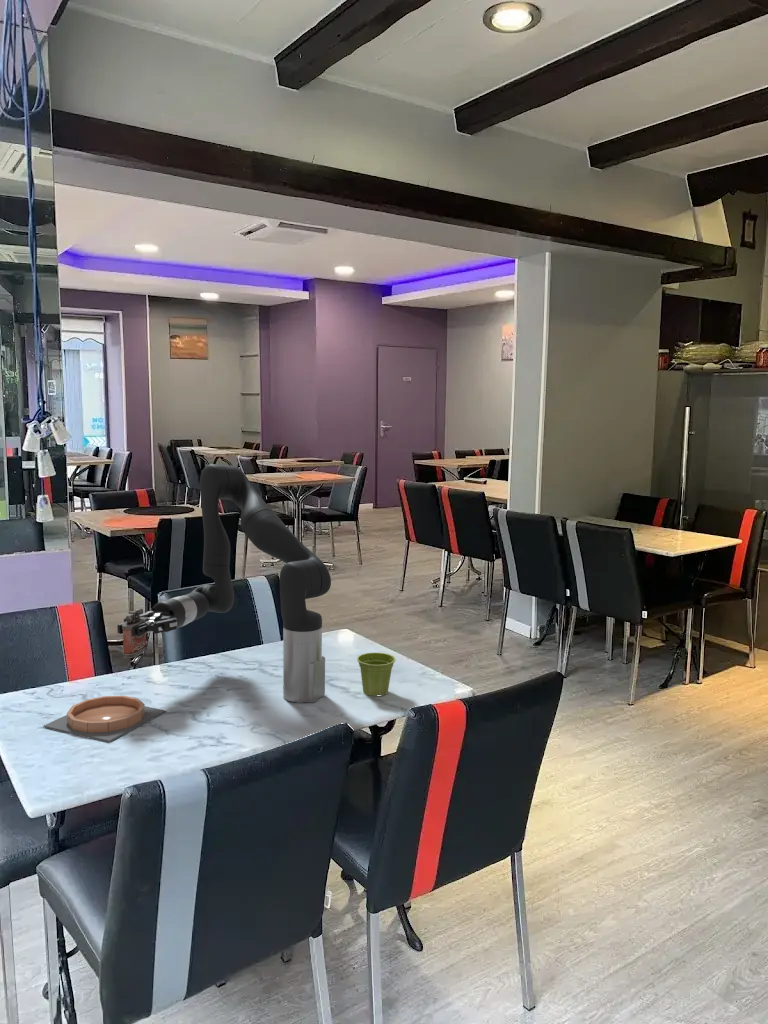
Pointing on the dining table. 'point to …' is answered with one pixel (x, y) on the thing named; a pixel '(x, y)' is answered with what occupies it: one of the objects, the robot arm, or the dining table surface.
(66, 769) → the dining table surface
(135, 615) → the lighter
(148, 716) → the mat
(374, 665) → the plant pot
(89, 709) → the dish
